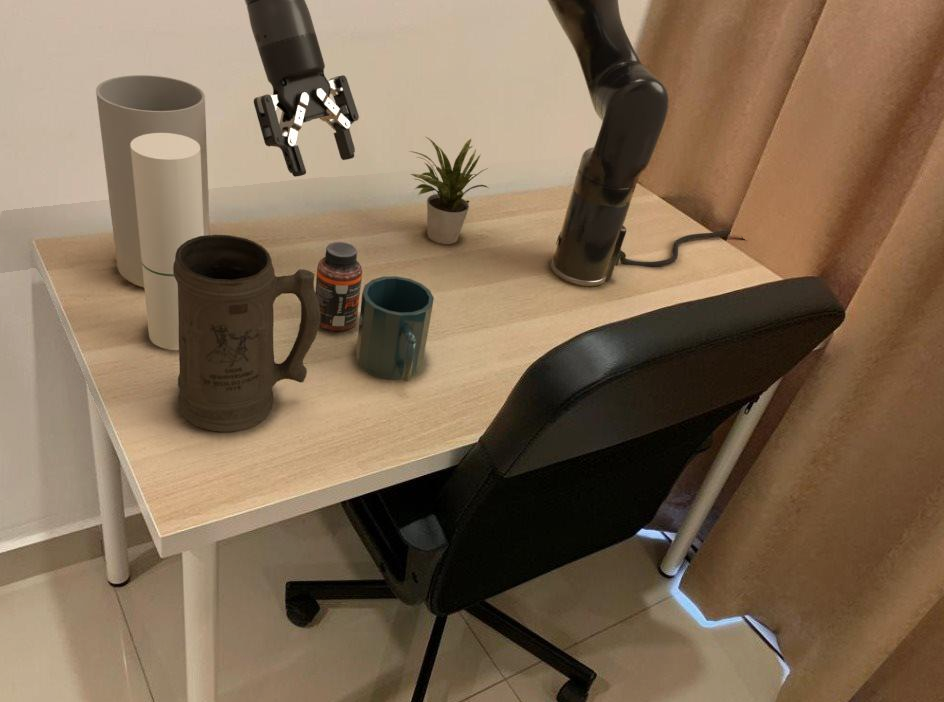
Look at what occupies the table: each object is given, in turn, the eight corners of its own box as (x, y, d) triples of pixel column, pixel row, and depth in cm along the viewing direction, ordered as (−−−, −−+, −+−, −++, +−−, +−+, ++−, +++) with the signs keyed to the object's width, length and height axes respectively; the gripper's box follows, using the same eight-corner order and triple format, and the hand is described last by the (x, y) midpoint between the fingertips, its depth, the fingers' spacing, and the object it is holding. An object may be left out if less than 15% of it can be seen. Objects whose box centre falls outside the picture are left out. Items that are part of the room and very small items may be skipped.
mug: (349, 341, 103) (356, 277, 97) (412, 337, 106) (422, 275, 100) (370, 398, 95) (378, 331, 88) (437, 392, 98) (450, 328, 91)
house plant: (412, 206, 138) (424, 117, 128) (486, 224, 137) (505, 135, 127) (391, 241, 127) (403, 145, 117) (472, 261, 126) (491, 166, 116)
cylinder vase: (194, 242, 116) (186, 74, 101) (223, 284, 109) (219, 109, 94) (107, 253, 110) (84, 76, 95) (131, 299, 103) (111, 114, 87)
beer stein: (178, 440, 84) (182, 283, 72) (165, 380, 91) (166, 228, 79) (315, 426, 90) (339, 281, 79) (292, 371, 98) (311, 230, 86)
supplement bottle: (349, 337, 104) (356, 264, 97) (307, 326, 104) (311, 253, 97) (362, 315, 108) (370, 244, 101) (322, 304, 109) (327, 233, 102)
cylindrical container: (216, 343, 98) (210, 156, 83) (159, 355, 94) (142, 162, 79) (196, 313, 102) (187, 130, 87) (141, 324, 99) (121, 135, 83)
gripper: (256, 41, 89) (300, 179, 96) (346, 22, 98) (381, 150, 104) (223, 53, 95) (266, 184, 101) (311, 35, 103) (346, 156, 109)
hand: (324, 167), depth 102 cm, fingers open, 8 cm apart
